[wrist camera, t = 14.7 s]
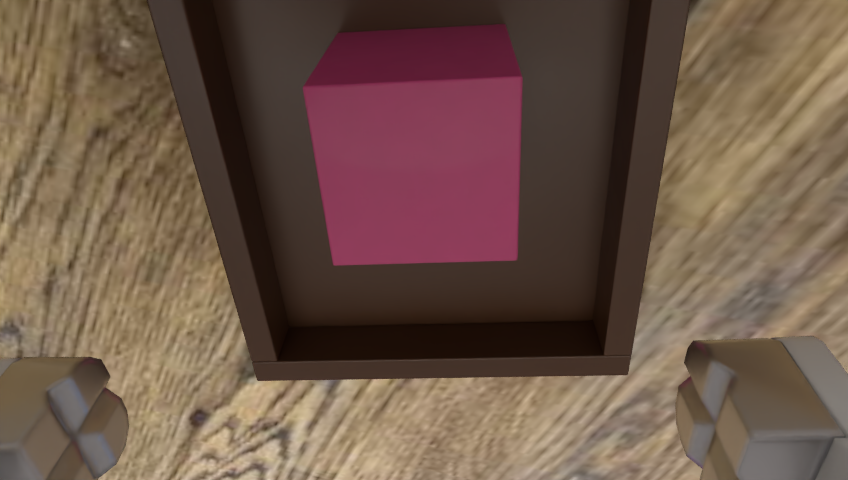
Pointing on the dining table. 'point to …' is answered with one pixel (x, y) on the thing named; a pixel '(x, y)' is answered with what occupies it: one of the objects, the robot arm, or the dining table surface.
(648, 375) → the dining table surface
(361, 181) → the pink block
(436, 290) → the tray
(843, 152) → the dining table surface
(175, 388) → the dining table surface
